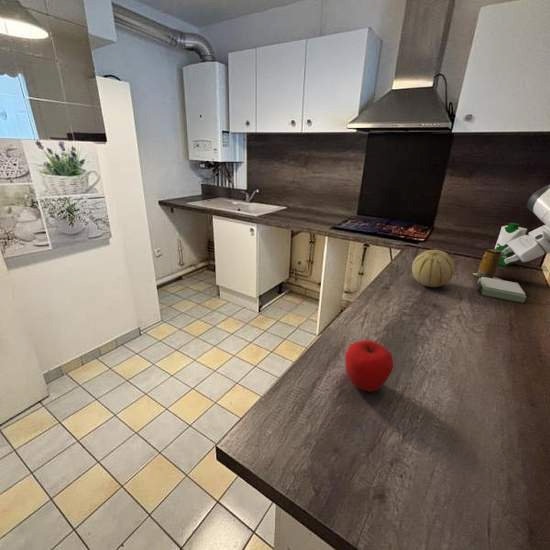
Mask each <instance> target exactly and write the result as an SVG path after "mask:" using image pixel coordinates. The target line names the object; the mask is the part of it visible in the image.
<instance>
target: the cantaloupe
mask: <svg viewBox="0 0 550 550" xmlns="http://www.w3.org/2000/svg"><path fill="white" fill-rule="evenodd" d="M411 265H412V266H411V272H412V275H413V277H414V279H415V280H416V281H417V282H418V283H419V284H421V285H422V286H425V287H427V288H428V287H429V288H438V287H442V286H444V285H446V284H448V283H449V282H450V281H451V280H452V279H453V277H454V275H455V271H456V265H455V262H454V259H452V257H451V255H449V254H448V253H447V252H445V251H443V250H440V249H428V250H424V251H423V252H421V253H419V254H418V255H417V256H416V257H415V259H414V260H413V262H412V264H411Z"/></svg>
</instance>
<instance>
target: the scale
mask: <svg viewBox="0 0 550 550" xmlns="http://www.w3.org/2000/svg"><path fill="white" fill-rule="evenodd" d="M477 286H478V288H479V291H480V293H481V295H482V296H487V297H492V298H497V299H502V300H507V301H511V302H512V301H513V302H518V303H523V304H525V302H526V300H527V295H526V293H525V291H524V290H523V288H522V287H521V286H520V284H519V282H513V281H508V280H504V279H501V280H498V279H492V278H487V277H478V281H477Z"/></svg>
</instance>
